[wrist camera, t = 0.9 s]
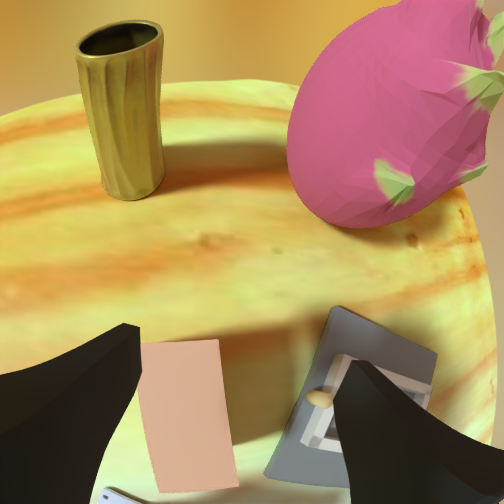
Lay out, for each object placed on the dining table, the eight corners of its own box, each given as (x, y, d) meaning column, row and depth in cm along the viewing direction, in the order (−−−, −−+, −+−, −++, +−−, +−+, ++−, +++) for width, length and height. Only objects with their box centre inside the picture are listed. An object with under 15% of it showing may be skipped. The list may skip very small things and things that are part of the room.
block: (220, 448, 18) (239, 486, 11) (163, 452, 16) (159, 493, 10) (206, 341, 20) (218, 339, 14) (147, 344, 19) (132, 342, 13)
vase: (173, 154, 25) (185, 20, 12) (153, 208, 23) (143, 64, 10) (117, 144, 24) (101, 17, 11) (92, 195, 21) (45, 64, 8)
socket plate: (385, 484, 18) (405, 493, 15) (263, 473, 17) (277, 490, 14) (431, 354, 25) (454, 352, 22) (331, 307, 24) (353, 300, 21)
